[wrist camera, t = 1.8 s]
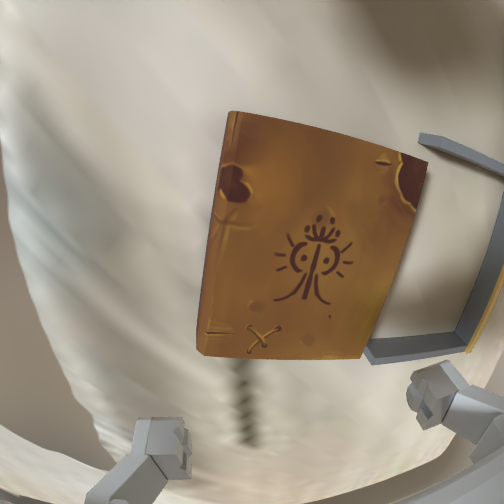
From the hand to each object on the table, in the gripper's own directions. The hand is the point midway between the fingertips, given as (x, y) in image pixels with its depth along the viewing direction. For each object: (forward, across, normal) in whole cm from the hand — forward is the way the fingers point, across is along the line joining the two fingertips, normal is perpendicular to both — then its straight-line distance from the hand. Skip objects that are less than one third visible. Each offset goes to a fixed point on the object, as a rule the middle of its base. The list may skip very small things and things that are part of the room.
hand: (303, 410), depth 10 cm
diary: (+24, -5, +3) cm, 25 cm away
